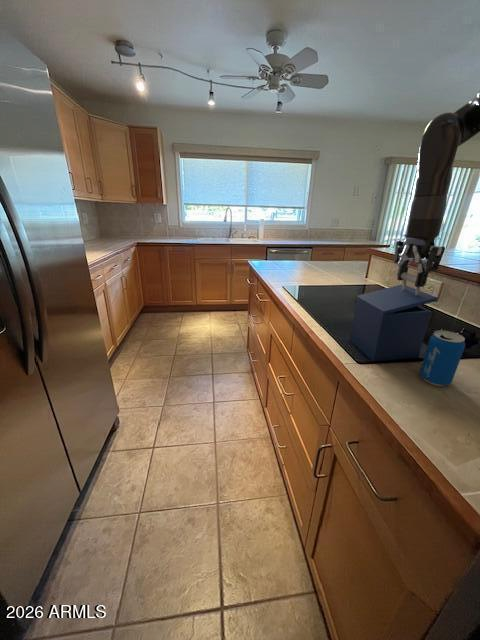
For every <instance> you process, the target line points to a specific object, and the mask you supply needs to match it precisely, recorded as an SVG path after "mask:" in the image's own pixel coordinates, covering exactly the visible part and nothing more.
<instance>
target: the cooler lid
mask: <svg viewBox="0 0 480 640" xmlns="http://www.w3.org/2000/svg"><path fill="white" fill-rule="evenodd" d="M416 277H417V275H415V274H412V273H409V272H407V273H406V272H403V273H402V274H401V278H402V279H403V280H402V283H401V284H397V285H394V286H390V287H386V288H382V289H378V290H374V291H370V292H366V293H362V294H358V295H356V299H358V300H359V301H361V302H363V303H364V304H366V305H368V306H369V307H371V308H373V309H374V310H376V311H378V312H379V313H381V314H383V315H385V314H389V313H393V312H397V311H400V310H404V309H408V308H412V307H416V306H423V305H427V304H431V303H436V302H437V301H438V297H437V296H435V295H432V294H429V293H427V292H424V291H422V290H421V287H416V286H415V288H414V287H411V286H409V285H407V281H408V282H411V283H413V284H415V282H416Z"/></svg>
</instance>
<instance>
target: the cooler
mask: <svg viewBox="0 0 480 640" xmlns="http://www.w3.org/2000/svg"><path fill="white" fill-rule="evenodd" d="M432 313H433V311H431V310H430V309H427V308H425V307H423V306H422V305H420V306H416V307H412V308H408V309H404V310H400V311H397V312H393V313H389V314H385V315H383V314H381V313H379V312H378V311H376V310H374V309H373V308H371V307H369V306H368V305H366V304H364V303H363V302H361V301H359V300H358V299H357V298H356V299H355V305H354V310H353V315H352V316H353V318H352V322H351V328H350V333H349V341H350V342H351V343H352V344H353V345H354V346H355V347H356V348H357V349H358V350H359V351H360V352H362V353H363V354H364V355H365V356H366V358H368V359H370V361H372V362H373V363H374V362H383V361H393V360H395V361H396V360H404V359H414V358H419V356H420V353H421V349H422V345H423V344H424V340H425V337H426V332H427V329H428V326H429V323H430V319H431V315H432Z"/></svg>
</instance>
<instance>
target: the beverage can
mask: <svg viewBox="0 0 480 640" xmlns="http://www.w3.org/2000/svg"><path fill="white" fill-rule="evenodd" d="M465 340H466V338H465V337H464V336H463V335H461V334H459V333H457V332H454V331H450V330H442V329H441V330H435V331H434V332H433V333H432V334H431V335H430V337H429V339H428V343H427V346H426V350H425V353H424V355H423V358H422V359H423V360H422V363H421V366H420V369H419V376H420V377H421V378H422V379H423V380H424V381H425V382H426V383H428V384H430V385H433V386H437V387H444V386H449V385H451V384H452V383H453V381H454V377H455V375H456V373H457V369H458V367H459V365H460V361H461V359H462V356H463V353H464V350H465V347H466V342H465Z"/></svg>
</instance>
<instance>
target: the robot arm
mask: <svg viewBox="0 0 480 640" xmlns="http://www.w3.org/2000/svg"><path fill="white" fill-rule="evenodd" d="M479 133H480V90H479V91H478V92H477V93H476V94H475V96H474V97H473V98H472V99H471V100H470V101H468V102H466V103H465V104H464V105H463V106H461V107H460V108H458V109H457V110H456V111H454V112H450V111H449V112H443V113H440V114H439V115H437V116H435V117H434V118H433V119H431V120H430V121H429V123H428V124H427V125H426V126H425V128H424V130H423V132H422V135H421V138H420V144H419V151H418V160H417V162H418V163H417V171H416V176H415V179H414V183H413V189H412V193H411V199H410V202H409V204H408V208H407V213H406V219H405V224H404V227H403V233H402V235H403V236H404V237H405V239H404V240H396V241H395V245H394V256H393V263H395V264H397V266H398V269H397V275H396V279H397V280H398V281H403V279H402V278H401V274H402V273H403V272H406V273H409V266H410V263H411V262H412V261H413V260H414V263H415V264H416V265H417V270H418V272H417V273H416V276H417V277H416V282H415V283H414V287H415V288H416V287H420V288H422V287H425V285H426V284H427V281H428V277H429V274H430V273H431V272H437V271H438V269H439V266H440V264H441V262H442V259H443V256H444V253H445V250H446V247H445V246H438V245H436V243H435V239H436V238H437V237H439V236H440V233H441V229H442V224H443V221H444V216H445V213H446V208H447V201H448V195H449V191H450V187H451V182H452V178H453V166H454V162H455V158H456V155H457V151H458V148H459V147H461V146H462V145H463V144H465V143H466V142H468V141H470V140H471V139H472V138H474V137H475V136H476V135H478V134H479Z"/></svg>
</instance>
